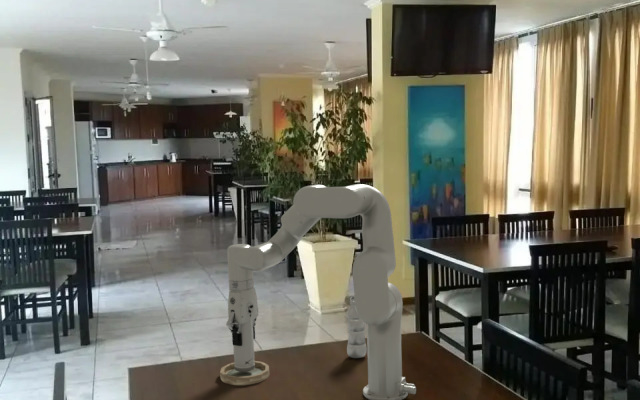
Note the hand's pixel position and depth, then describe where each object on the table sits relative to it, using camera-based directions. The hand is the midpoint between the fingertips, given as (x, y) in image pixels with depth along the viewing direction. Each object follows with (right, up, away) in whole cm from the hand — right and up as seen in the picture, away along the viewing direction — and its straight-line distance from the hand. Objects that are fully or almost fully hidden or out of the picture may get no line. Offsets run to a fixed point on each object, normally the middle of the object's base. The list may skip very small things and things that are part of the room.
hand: (244, 341), depth 191 cm
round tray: (0, -11, +1) cm, 11 cm away
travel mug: (0, -9, +1) cm, 9 cm away
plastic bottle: (+36, -9, +15) cm, 40 cm away
